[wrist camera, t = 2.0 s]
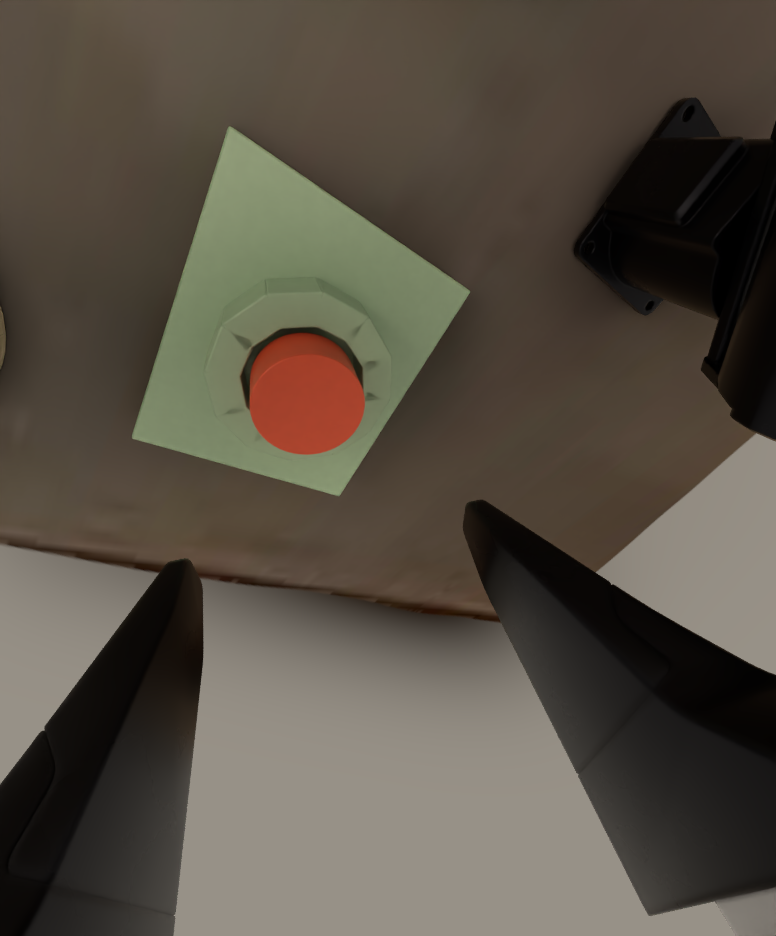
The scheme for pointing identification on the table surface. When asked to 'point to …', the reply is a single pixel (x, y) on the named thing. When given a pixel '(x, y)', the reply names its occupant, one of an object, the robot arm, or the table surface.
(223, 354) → the stop button base
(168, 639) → the robot arm
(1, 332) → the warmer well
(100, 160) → the table surface
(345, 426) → the stop button
